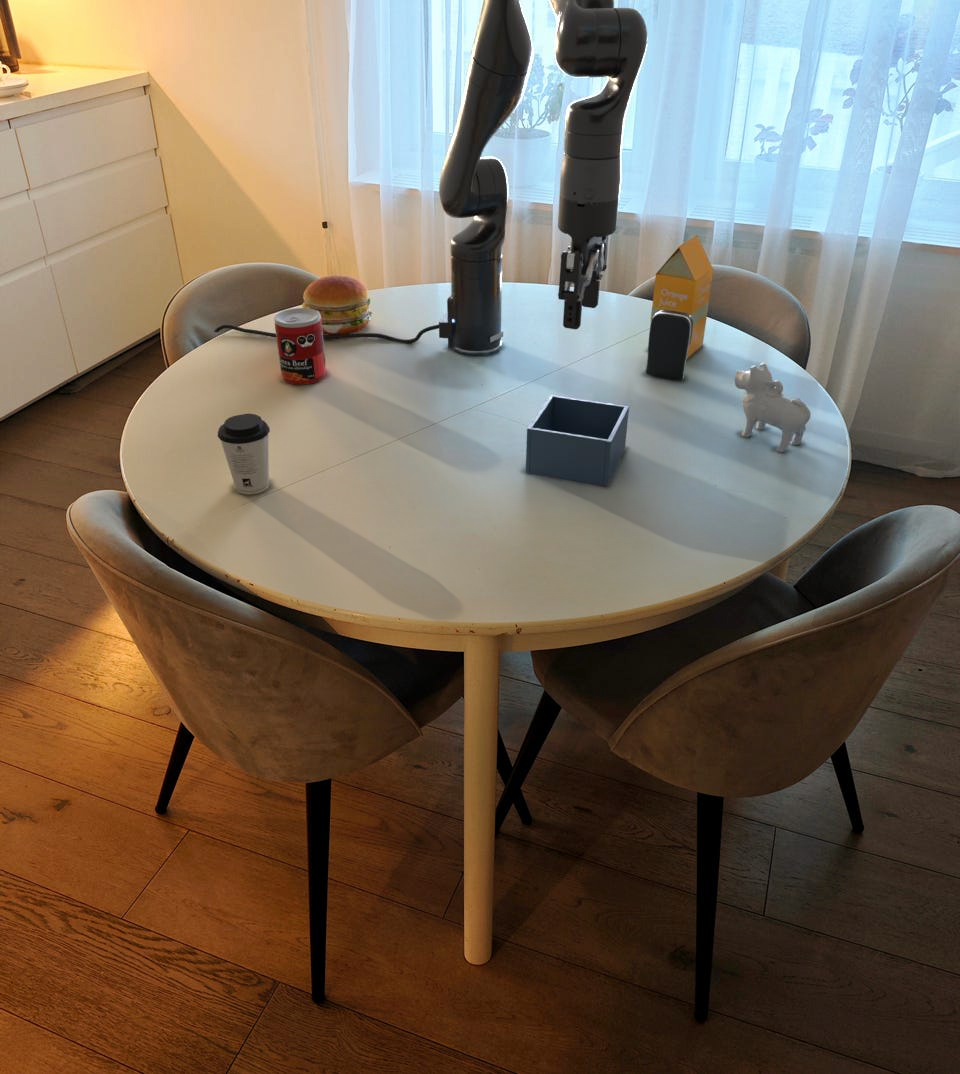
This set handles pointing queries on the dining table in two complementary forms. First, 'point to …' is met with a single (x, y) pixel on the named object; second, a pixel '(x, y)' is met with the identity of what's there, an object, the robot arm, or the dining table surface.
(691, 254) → the orange juice
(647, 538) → the dining table surface
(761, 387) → the dog figurine
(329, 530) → the dining table surface
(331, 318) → the burger
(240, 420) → the coffee cup
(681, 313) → the battery charger
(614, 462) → the blue open box
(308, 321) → the canned food
